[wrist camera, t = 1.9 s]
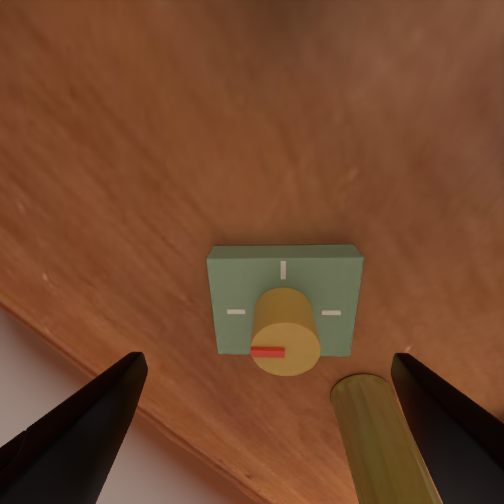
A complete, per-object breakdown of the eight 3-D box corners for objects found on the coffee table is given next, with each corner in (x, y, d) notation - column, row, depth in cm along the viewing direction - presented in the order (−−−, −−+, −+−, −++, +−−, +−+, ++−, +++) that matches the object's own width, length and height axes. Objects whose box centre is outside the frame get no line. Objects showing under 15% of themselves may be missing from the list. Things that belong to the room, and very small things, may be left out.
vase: (349, 421, 28) (417, 670, 15) (318, 388, 26) (364, 636, 13) (403, 400, 26) (535, 664, 13) (373, 363, 24) (490, 622, 11)
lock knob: (313, 287, 19) (324, 326, 15) (310, 335, 20) (319, 381, 16) (253, 287, 19) (247, 325, 15) (255, 334, 21) (251, 379, 17)
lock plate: (353, 243, 20) (365, 258, 17) (342, 335, 23) (350, 358, 21) (213, 245, 21) (205, 259, 18) (222, 333, 24) (217, 355, 22)
